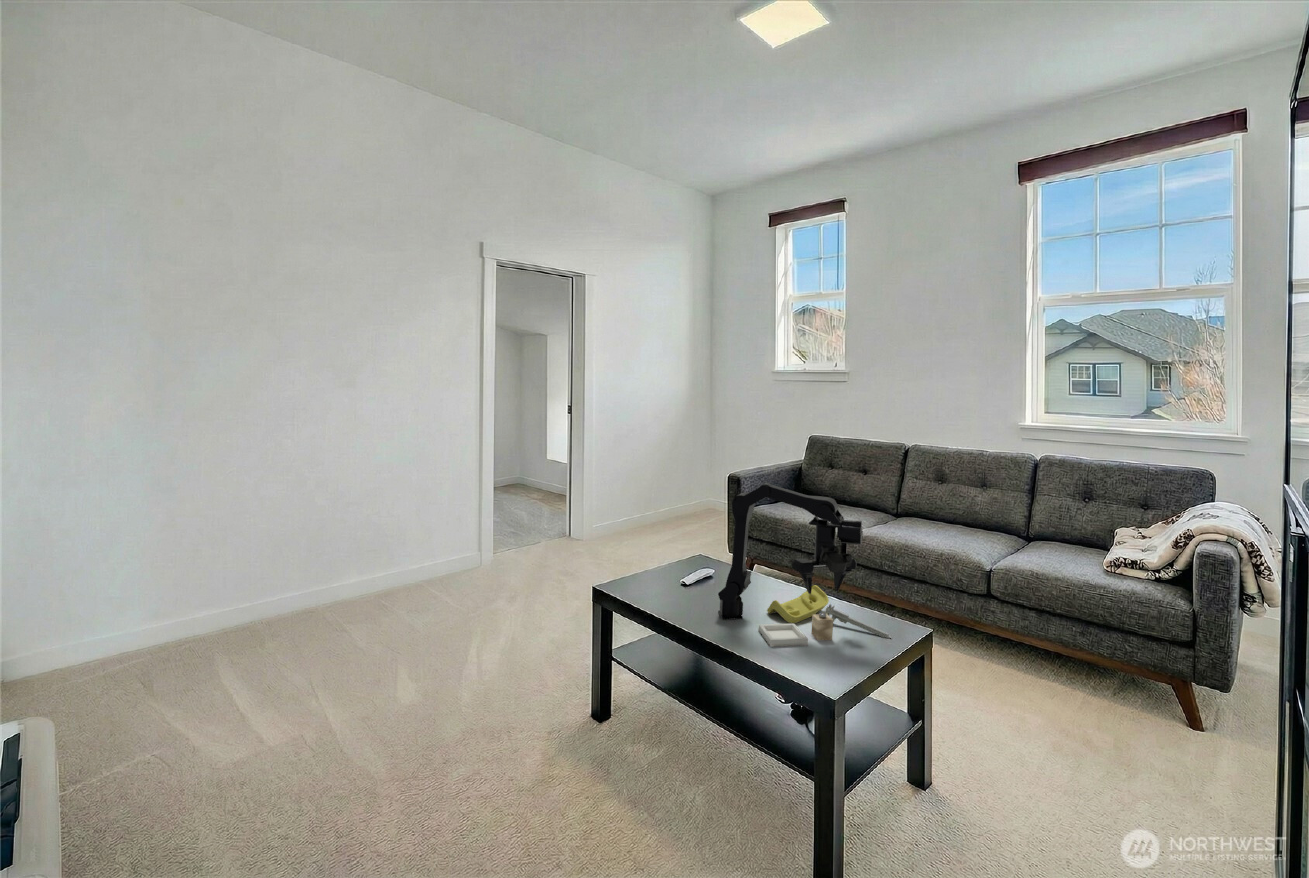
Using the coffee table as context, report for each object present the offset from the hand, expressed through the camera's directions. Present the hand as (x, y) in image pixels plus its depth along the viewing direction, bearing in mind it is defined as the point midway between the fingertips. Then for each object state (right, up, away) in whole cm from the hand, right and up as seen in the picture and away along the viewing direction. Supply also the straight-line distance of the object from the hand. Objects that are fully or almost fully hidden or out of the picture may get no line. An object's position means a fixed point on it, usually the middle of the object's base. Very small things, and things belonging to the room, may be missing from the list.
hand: (823, 592), depth 178 cm
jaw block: (-1, -13, -2) cm, 13 cm away
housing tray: (-13, -13, -3) cm, 18 cm away
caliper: (+11, -13, +4) cm, 18 cm away
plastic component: (-3, -12, +16) cm, 20 cm away
